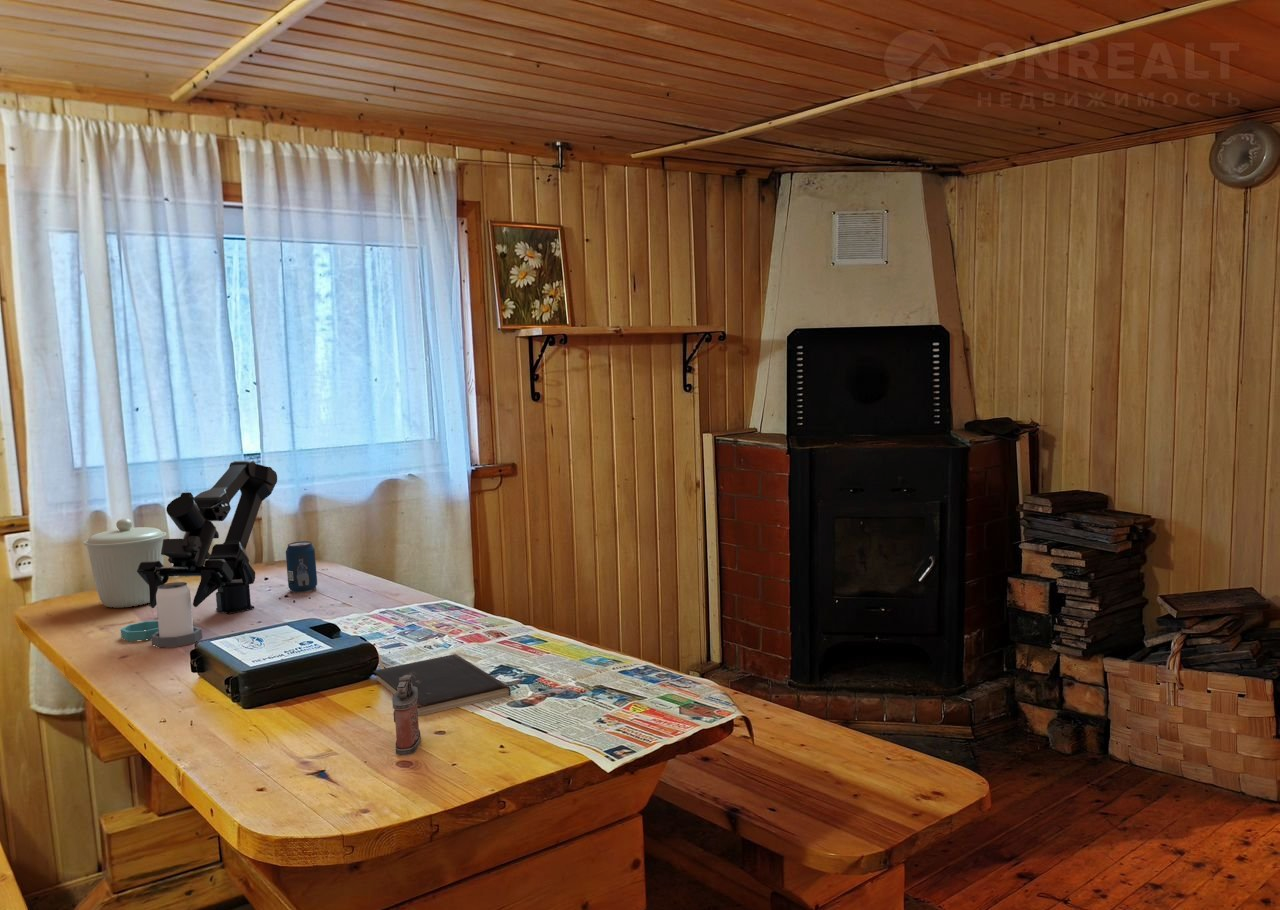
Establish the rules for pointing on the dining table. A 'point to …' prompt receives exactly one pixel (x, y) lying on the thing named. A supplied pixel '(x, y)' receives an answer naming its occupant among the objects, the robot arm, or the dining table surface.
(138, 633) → the socket
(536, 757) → the dining table surface
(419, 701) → the hardcover book
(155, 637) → the socket
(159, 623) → the can
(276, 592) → the dining table surface
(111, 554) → the canister
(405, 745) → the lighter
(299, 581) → the soda can
